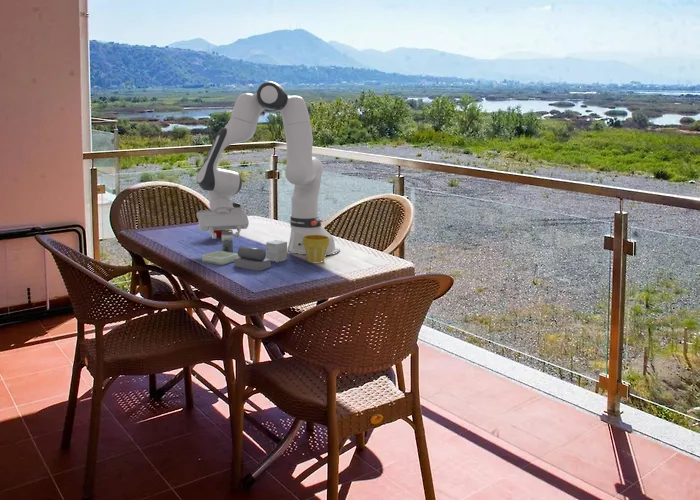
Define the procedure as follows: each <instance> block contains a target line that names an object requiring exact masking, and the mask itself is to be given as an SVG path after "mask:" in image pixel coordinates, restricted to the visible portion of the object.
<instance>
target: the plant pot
mask: <svg viewBox="0 0 700 500" xmlns="http://www.w3.org/2000/svg"><path fill="white" fill-rule="evenodd" d="M303 246H305V252H306V255H305V256H306V261H307V262H308V261H309V262H308V263H311V262H321V261H324V262H325V258H326V256H325V254H326V250H327V247H328V246H329V237H328V236H325V235H306V236H304V237H303ZM321 263H322V262H321Z"/></svg>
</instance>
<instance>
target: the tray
mask: <svg viewBox="0 0 700 500" xmlns="http://www.w3.org/2000/svg"><path fill="white" fill-rule="evenodd" d="M238 257H239V256H238V252H237V253H236V252H233V253H231V252H225V251H222V250H216V251H212V252H209V253H205V254H202V255H201V262H202V263H207V264H212V265H213V264H214V265H219V266H223V265H227V264H230V263H234V259H235V258H238Z"/></svg>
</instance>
